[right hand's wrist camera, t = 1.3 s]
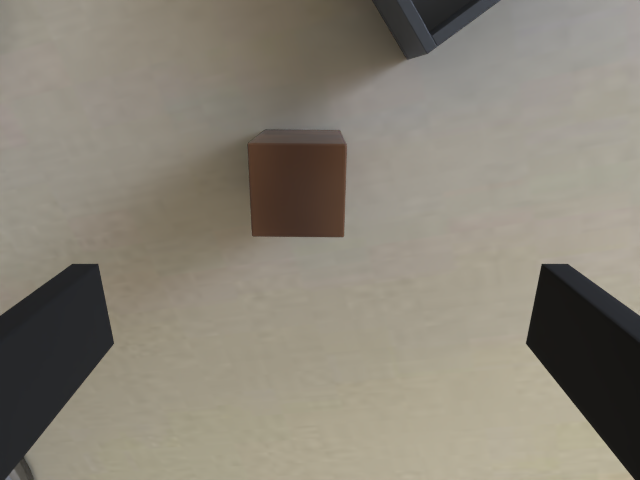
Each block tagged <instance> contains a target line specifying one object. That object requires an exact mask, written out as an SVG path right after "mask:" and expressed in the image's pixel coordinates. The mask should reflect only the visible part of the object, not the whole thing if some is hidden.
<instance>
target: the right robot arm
mask: <svg viewBox="0 0 640 480" xmlns="http://www.w3.org/2000/svg"><path fill="white" fill-rule="evenodd" d="M113 344H114V341H113V336H112V331H111V326H110V321H109V316H108V311H107V306H106V301H105V296H104V291H103V286H102V281H101V276H100V271H99V266H98V264H72V265H70V266H69V267H67V268H66V269H65V270H63V271H62V272H61V273H59V274H58V275H56V276H55V277H54V278H52V279H51V280H49V281H48V282H47V283H45V284H44V285H42V286H41V287H40V288H38V289H37V290H36V291H34V292H33V293H31V294H30V295H29V296H27V297H26V298H24V299H23V300H22V301H20V302H19V303H17V304H16V305H15V306H13V307H12V308H11V309H9V310H8V311H6V312H5V313H4V314H2V315H1V316H0V480H33V476H32V473H31V471H30V469H29V467H28V465H27V463H26V461H25V460H24V458H23V457H24V456H25V454H26V453H27V452H28V451H29V449H30V448H31V447H32V446H33V444H34V443H35V442H36V441H37V439H38V438H39V437H40V436H41V434H42V433H43V432H44V431H45V429H46V428H47V427H48V426H49V424H50V423H51V422H52V421H53V419H54V418H55V417H56V415H57V414H58V413H59V412H60V410H61V409H62V408H63V407H64V405H65V404H66V403H67V402H68V400H69V399H70V398H71V397H72V395H73V394H74V393H75V392H76V390H77V389H78V388H79V387H80V385H81V384H82V383H83V382H84V380H85V379H86V378H87V377H88V375H89V374H90V373H91V372H92V370H93V369H94V368H95V367H96V365H97V364H98V363H99V362H100V360H101V359H102V358H103V357H104V355H105V354H106V353H107V352H108V350H109V349H110V348H111V347H112V345H113ZM526 344H527V345H528V347H529V348H530V349H531V350H532V352H533V353H534V354H535V355H536V357H537V358H538V359H539V360H540V362H541V363H542V364H543V365H544V367H545V368H546V369H547V370H548V372H549V373H550V374H551V375H552V377H553V378H554V379H555V380H556V382H557V383H558V384H559V385H560V387H561V388H562V389H563V390H564V392H565V393H566V394H567V395H568V397H569V398H570V399H571V400H572V402H573V403H574V404H575V405H576V407H577V408H578V409H579V410H580V412H581V413H582V414H583V415H584V417H585V418H586V419H587V421H588V422H589V423H590V424H591V426H592V427H593V428H594V429H595V431H596V432H597V433H598V434H599V436H600V437H601V438H602V439H603V441H604V442H605V443H606V444H607V446H608V447H609V448H610V449H611V451H612V452H613V453H614V454H615V456H616V457H617V458H618V459H619V461H620V462H621V463H622V464H623V466H624V467H625V468H626V469H627V471H628V472H629V473H630V474H631V476H632V477H633V478H634V479H635V480H640V316H639V315H638V314H636V313H635V312H634V311H632V310H631V309H629V308H628V307H627V306H625V305H624V304H623V303H621V302H620V301H618V300H617V299H616V298H614V297H613V296H611V295H610V294H609V293H607V292H606V291H604V290H603V289H602V288H600V287H599V286H598V285H596V284H595V283H593V282H592V281H591V280H589V279H588V278H586V277H585V276H584V275H582V274H581V273H579V272H578V271H577V270H575V269H574V268H573V267H571V266H570V265H568V264H542V266H541V271H540V276H539V281H538V286H537V291H536V296H535V301H534V306H533V311H532V316H531V321H530V326H529V331H528V336H527V341H526Z"/></svg>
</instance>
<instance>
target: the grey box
mask: <svg viewBox="0 0 640 480" xmlns="http://www.w3.org/2000/svg"><path fill="white" fill-rule="evenodd" d="M372 1H373V2H374V4H375V6H376V7H377V9H378V11H379V12H380V14H381V16H382V18H383V19H384V21H385V23H386V24H387V26H388V28H389V29H390V31H391V33H392V35H393V36H394V38H395V40H396V41H397V43H398V45H399V46H400V48H401V50H402V52H403V53H404V55H405V57H406V58H407V60H408V59H411V58H415V57H418V56H421V55H424V54H428V53H429V52H430V51H432V50H433V49H435V48H436V47H437V46H439V45H440V44H441V43H443V42H444V41H446V40H447V39H448V38H450V37H451V36H452V35H454V34H455V33H456V32H458V31H459V30H461V29H462V28H463V27H465V26H466V25H467V24H469V23H470V22H472V21H473V20H474V19H476V18H477V17H478V16H480V15H481V14H482V13H484V12H485V11H487V10H488V9H489V8H491V7H492V6H493V5H495V4H496V3H497V2H499V1H500V0H372Z"/></svg>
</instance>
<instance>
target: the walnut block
mask: <svg viewBox="0 0 640 480" xmlns="http://www.w3.org/2000/svg"><path fill="white" fill-rule="evenodd" d="M346 158H347V144H346V142H345V140H344V138H343V136H342V134H341V132H340V130H268V129H266V130H264V131H263V132H261V133H260V134H259V135H258V136H256V137H255V138H254V139H253V140H251V141H250V142H249V143H248V164H249V185H250V205H251V226H252V236H266V237H344V222H345V190H346Z"/></svg>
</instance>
